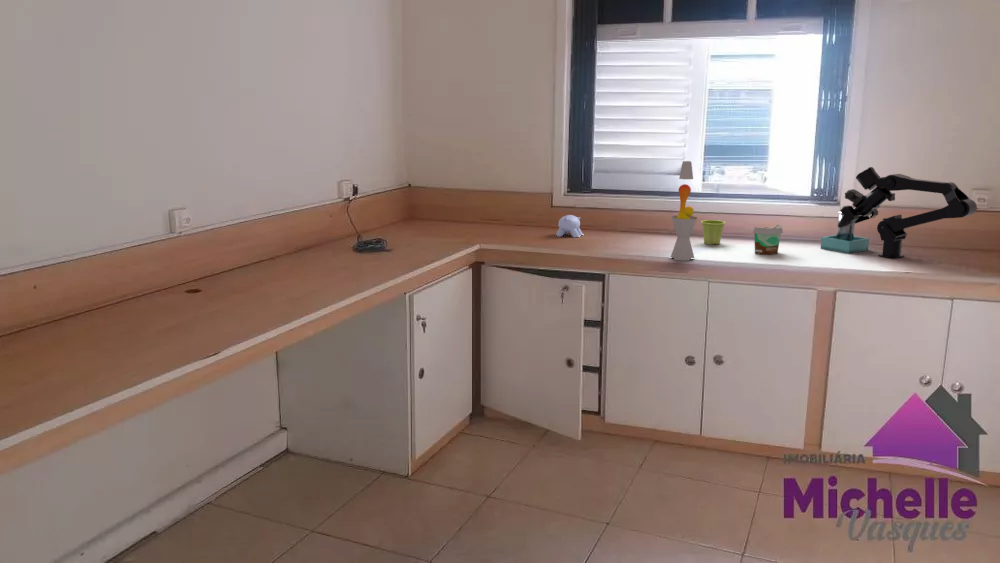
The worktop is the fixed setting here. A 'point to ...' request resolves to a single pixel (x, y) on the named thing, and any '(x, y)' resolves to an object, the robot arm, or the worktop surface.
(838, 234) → the grey can
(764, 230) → the food container
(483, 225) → the worktop surface
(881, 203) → the robot arm
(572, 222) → the hippopotamus toy
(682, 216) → the lava lamp
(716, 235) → the plant pot
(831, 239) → the teal bin
